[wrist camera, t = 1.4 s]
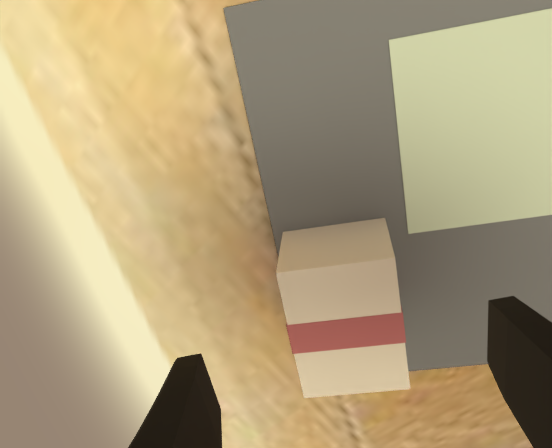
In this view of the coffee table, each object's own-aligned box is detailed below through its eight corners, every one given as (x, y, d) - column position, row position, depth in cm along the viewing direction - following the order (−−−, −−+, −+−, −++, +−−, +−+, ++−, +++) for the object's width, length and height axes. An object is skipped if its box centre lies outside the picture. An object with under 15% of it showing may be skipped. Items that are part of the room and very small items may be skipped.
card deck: (400, 335, 27) (411, 389, 24) (306, 344, 28) (302, 398, 25) (386, 217, 25) (396, 258, 21) (282, 231, 25) (274, 273, 22)
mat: (604, 347, 27) (609, 354, 27) (305, 375, 30) (305, 381, 29) (639, -82, 19) (646, -84, 19) (225, 7, 22) (222, 8, 21)
